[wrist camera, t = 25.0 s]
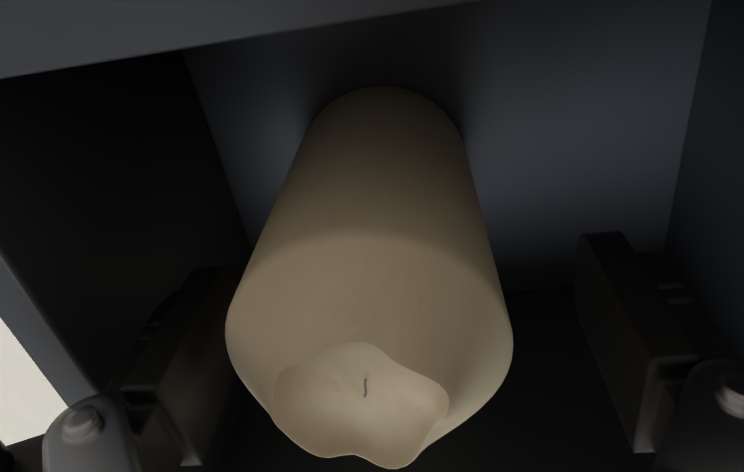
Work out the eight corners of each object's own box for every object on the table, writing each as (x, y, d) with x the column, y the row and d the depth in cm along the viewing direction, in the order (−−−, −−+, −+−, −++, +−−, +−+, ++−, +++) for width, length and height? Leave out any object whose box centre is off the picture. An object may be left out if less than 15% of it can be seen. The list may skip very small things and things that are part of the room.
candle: (433, 53, 15) (474, 245, 6) (485, 205, 17) (562, 480, 9) (271, 121, 16) (128, 351, 8) (342, 251, 19) (293, 526, 10)
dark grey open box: (264, 315, 22) (181, 559, 14) (135, -36, 15) (-217, 37, 6) (668, 279, 20) (859, 545, 11) (758, -153, 12) (1475, -281, 4)
